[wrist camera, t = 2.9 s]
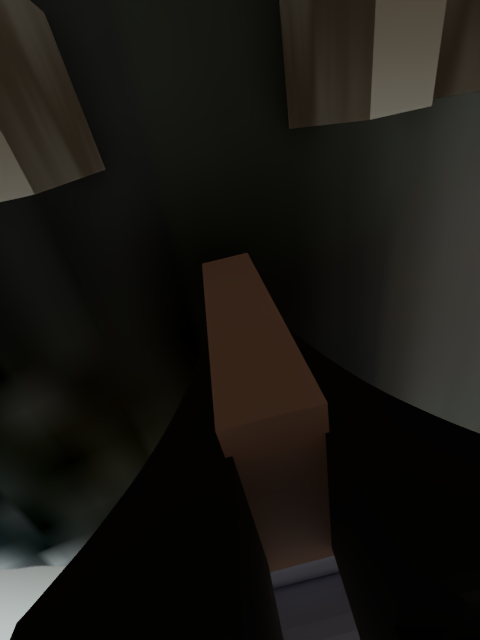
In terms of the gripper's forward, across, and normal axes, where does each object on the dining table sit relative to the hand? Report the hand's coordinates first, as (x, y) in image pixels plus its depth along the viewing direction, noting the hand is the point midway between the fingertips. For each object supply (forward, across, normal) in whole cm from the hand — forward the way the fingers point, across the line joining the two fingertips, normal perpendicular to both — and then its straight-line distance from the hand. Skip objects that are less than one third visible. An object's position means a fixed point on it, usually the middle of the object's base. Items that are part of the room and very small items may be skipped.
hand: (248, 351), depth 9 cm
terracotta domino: (+2, 0, 0) cm, 2 cm away
